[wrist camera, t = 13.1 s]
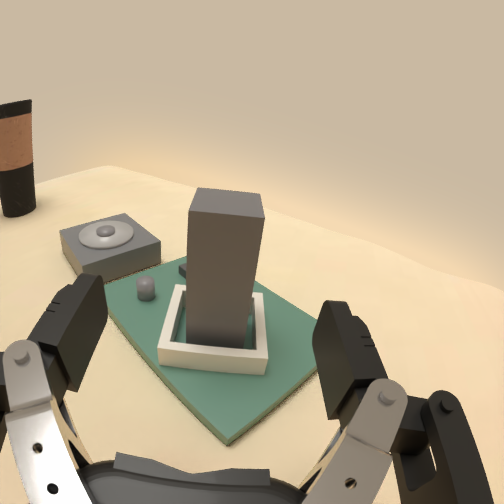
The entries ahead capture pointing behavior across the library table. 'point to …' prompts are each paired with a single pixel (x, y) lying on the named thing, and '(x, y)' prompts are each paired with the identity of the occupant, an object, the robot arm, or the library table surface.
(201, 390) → the board
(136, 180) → the library table surface
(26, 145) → the travel mug
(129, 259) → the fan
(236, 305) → the gray block
